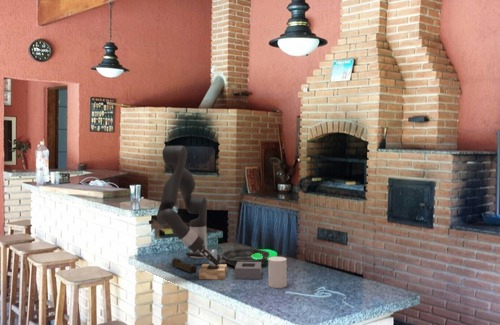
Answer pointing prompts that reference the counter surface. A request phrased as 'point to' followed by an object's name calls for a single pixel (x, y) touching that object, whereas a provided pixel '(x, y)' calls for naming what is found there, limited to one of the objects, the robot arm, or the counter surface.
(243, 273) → the holder block
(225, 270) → the square frame block
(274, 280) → the cup
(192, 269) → the hand tool
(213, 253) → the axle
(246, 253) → the frying pan
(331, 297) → the counter surface
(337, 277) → the counter surface
